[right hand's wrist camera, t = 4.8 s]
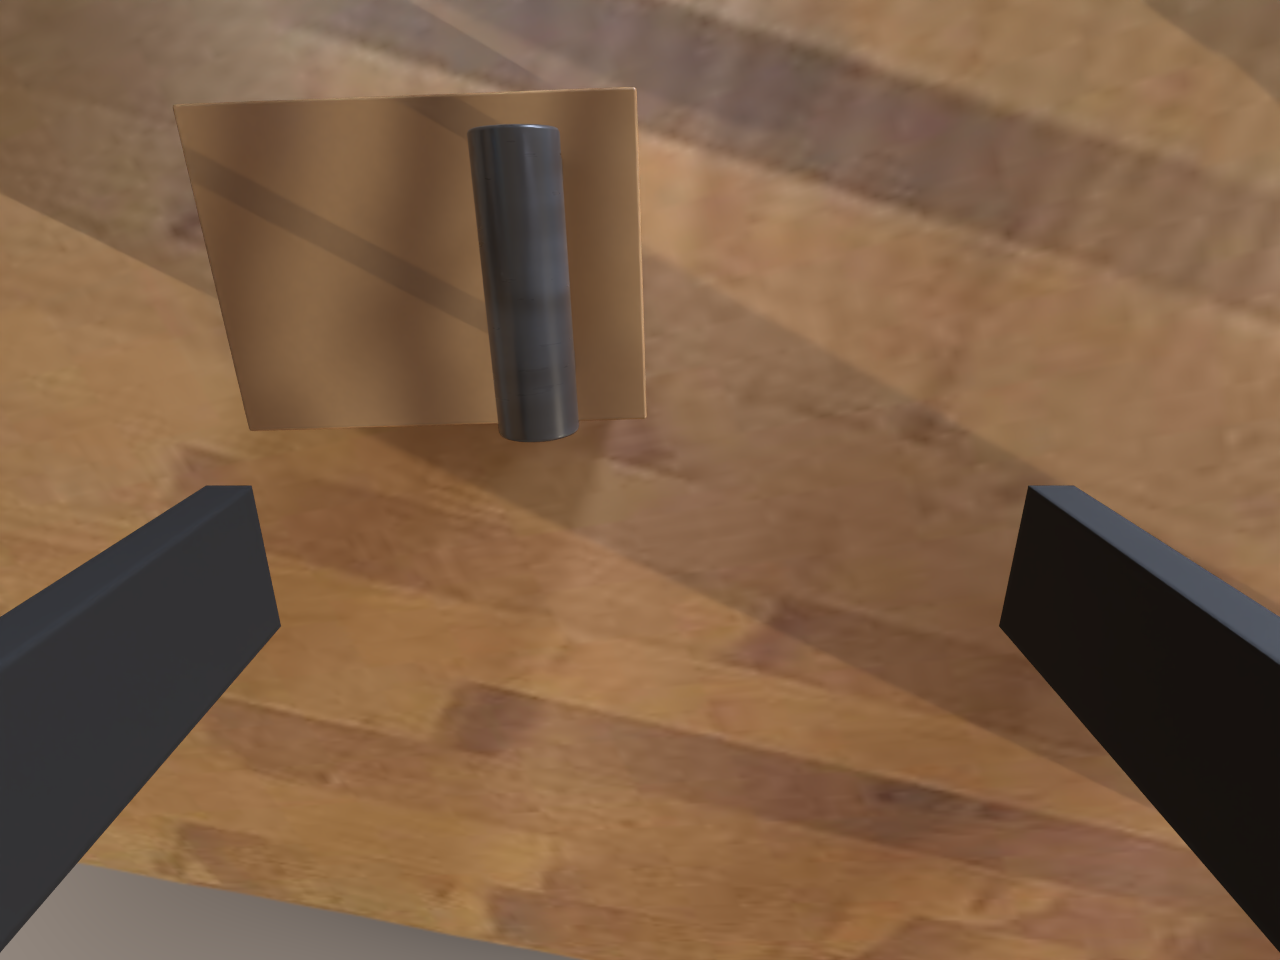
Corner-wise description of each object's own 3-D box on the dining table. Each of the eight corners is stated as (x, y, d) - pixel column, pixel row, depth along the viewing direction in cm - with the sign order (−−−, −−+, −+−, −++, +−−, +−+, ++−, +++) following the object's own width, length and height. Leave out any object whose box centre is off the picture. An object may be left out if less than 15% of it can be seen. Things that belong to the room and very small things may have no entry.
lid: (636, 90, 22) (633, 23, 14) (646, 413, 25) (648, 504, 17) (187, 107, 22) (-68, 51, 14) (260, 425, 25) (90, 520, 18)
